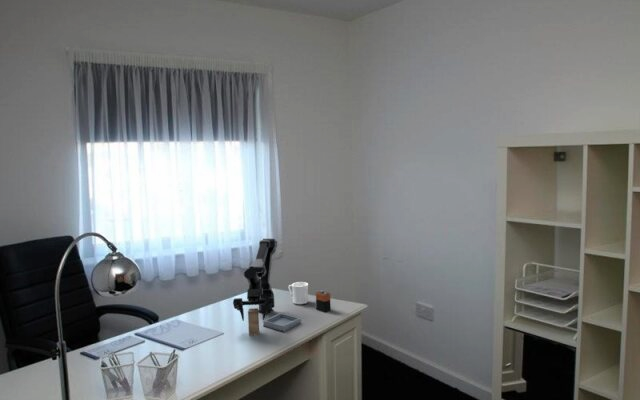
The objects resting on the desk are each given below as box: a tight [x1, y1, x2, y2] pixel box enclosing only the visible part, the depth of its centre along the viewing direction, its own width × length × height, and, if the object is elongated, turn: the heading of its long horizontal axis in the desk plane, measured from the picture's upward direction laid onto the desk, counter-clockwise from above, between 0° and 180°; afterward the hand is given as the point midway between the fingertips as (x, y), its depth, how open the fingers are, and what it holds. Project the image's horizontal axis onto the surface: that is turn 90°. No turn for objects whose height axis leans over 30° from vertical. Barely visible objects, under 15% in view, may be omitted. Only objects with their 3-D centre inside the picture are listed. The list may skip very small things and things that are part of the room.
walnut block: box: [247, 307, 260, 336], centre depth 214 cm, size 4×4×11 cm
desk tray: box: [262, 312, 302, 332], centre depth 224 cm, size 13×13×2 cm
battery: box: [315, 289, 331, 313], centre depth 242 cm, size 4×7×10 cm, turn 44°
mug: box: [287, 281, 309, 306], centre depth 254 cm, size 11×9×10 cm
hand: (253, 320), depth 212 cm, fingers open, 9 cm apart
